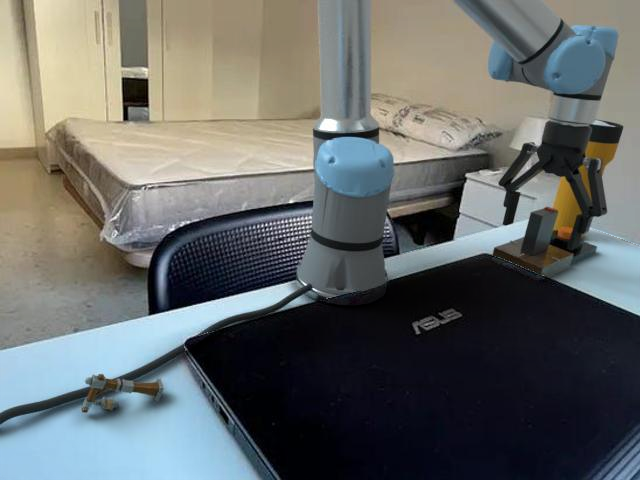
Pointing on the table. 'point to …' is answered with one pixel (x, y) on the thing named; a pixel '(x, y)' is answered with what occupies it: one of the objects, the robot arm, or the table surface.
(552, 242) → the button block
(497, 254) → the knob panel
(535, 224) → the dark gray rectangular block
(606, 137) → the flashlight
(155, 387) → the toy blaster gun
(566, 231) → the button
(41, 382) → the table surface
